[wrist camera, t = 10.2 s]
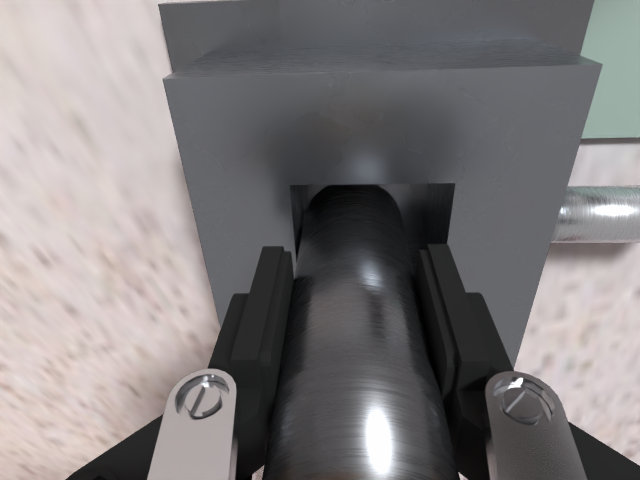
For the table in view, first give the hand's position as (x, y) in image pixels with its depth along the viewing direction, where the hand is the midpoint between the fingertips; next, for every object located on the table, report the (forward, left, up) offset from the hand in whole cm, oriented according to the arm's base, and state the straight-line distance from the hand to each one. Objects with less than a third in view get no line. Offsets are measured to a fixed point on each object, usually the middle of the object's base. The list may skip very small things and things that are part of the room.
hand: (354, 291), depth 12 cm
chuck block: (0, 0, -7) cm, 7 cm away
